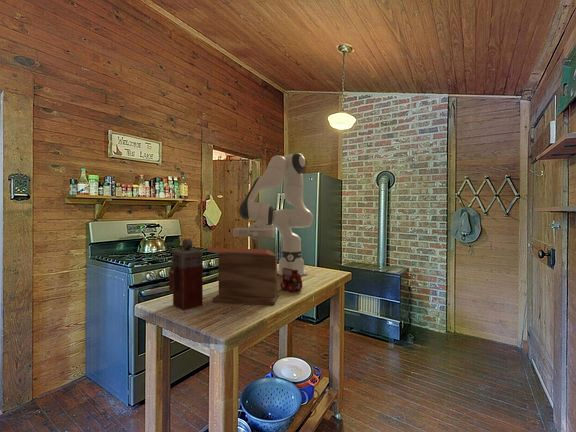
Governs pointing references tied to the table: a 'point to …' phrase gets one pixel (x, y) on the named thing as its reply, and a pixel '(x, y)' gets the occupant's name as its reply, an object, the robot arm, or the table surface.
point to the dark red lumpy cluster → (291, 280)
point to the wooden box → (247, 279)
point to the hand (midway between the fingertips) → (250, 234)
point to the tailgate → (240, 251)
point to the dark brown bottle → (186, 277)
